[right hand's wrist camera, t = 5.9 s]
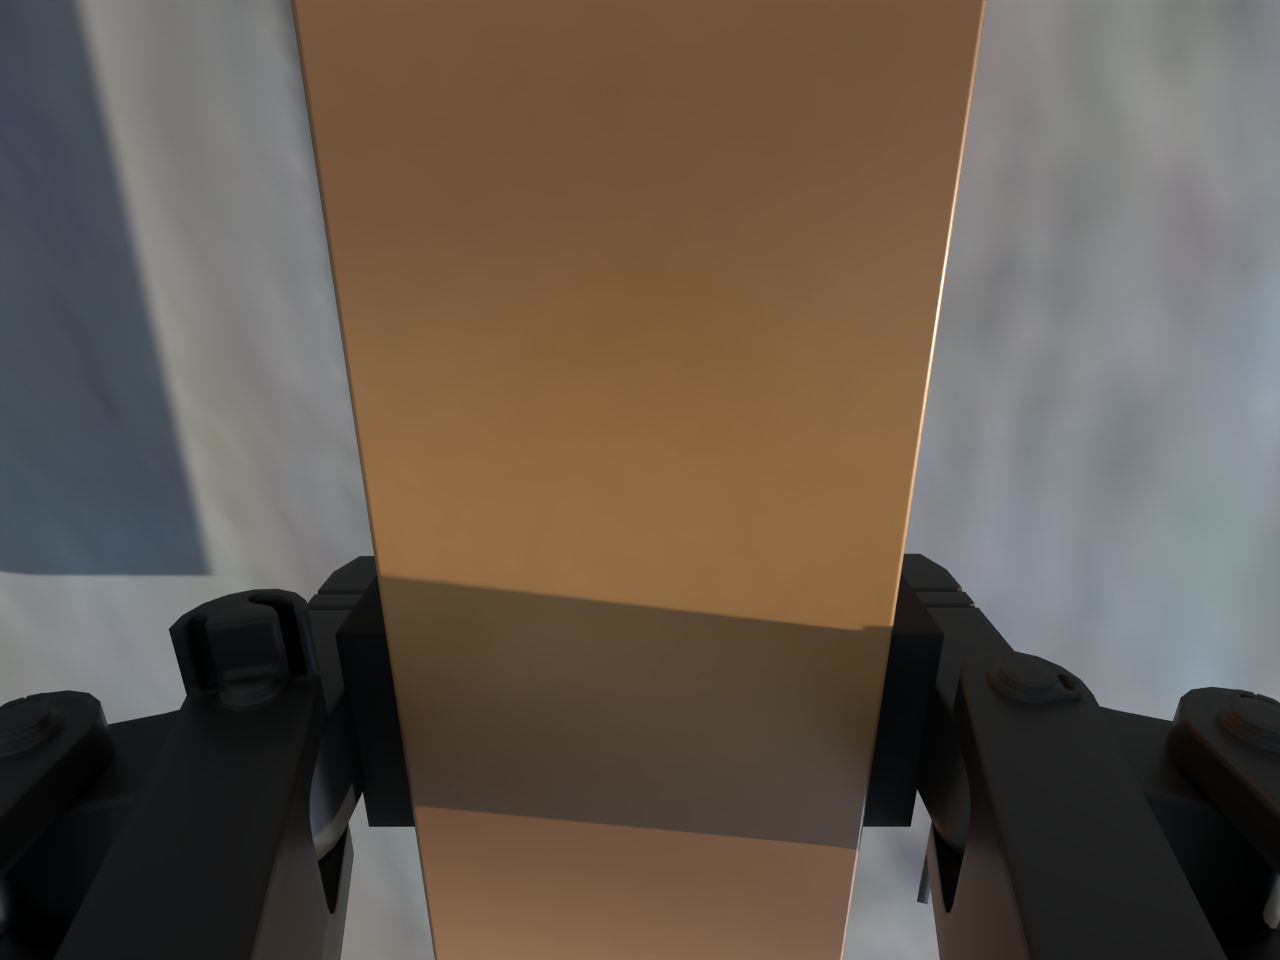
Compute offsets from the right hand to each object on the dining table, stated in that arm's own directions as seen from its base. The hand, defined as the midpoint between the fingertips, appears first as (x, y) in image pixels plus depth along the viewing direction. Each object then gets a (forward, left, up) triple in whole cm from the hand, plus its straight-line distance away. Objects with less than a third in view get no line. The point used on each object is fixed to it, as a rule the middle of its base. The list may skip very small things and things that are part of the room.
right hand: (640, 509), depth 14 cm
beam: (+11, +19, -1) cm, 22 cm away
